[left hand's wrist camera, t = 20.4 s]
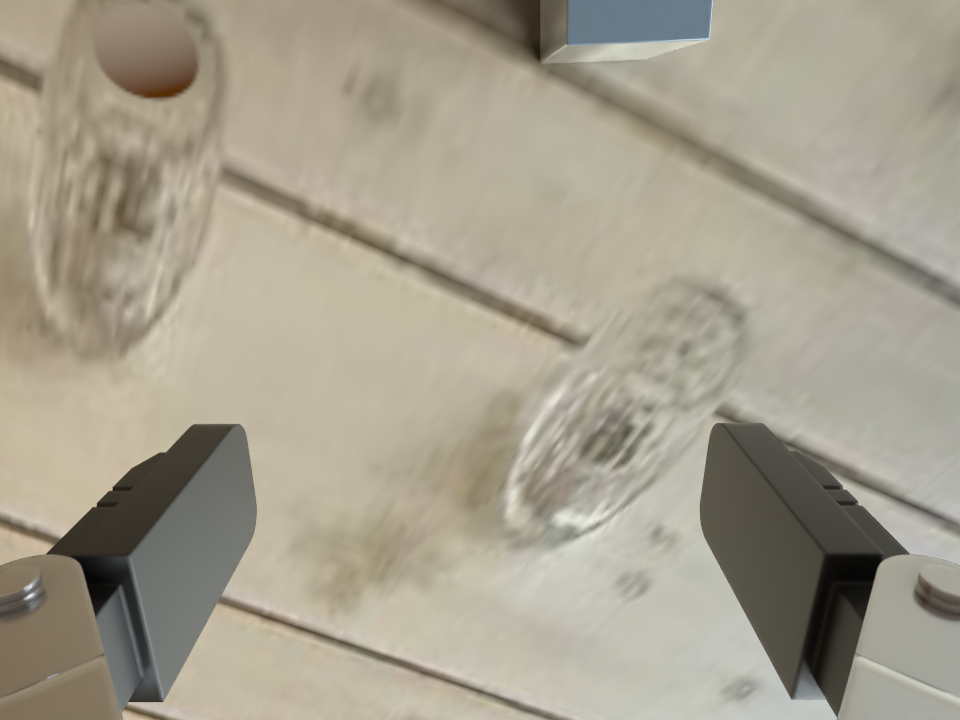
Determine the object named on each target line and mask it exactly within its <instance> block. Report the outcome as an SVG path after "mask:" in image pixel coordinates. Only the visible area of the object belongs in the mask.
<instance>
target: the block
mask: <svg viewBox="0 0 960 720" xmlns="http://www.w3.org/2000/svg"><path fill="white" fill-rule="evenodd" d="M712 7H713V0H540V63H541V64H548V63H574V62H601V61H627V60H645V59H648V58H651V57H654V56H658V55H661V54H664V53H668V52H671V51H674V50H678V49H681V48H684V47H687V46H691V45H694V44H697V43H701V42H704V41H707V40H709V39H710V30H711V19H712Z"/></svg>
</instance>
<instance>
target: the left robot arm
mask: <svg viewBox="0 0 960 720" xmlns="http://www.w3.org/2000/svg"><path fill="white" fill-rule="evenodd" d="M256 516H257V505H256V497H255V491H254V484H253V477H252V470H251V463H250V456H249V449H248V442H247V437H246V433H245V430H244V428H243V427H242V426H241V425H240V424H194V425H192V426H191V427H190V428H189V429H188V430H187V431H186V432H185V433H184V434H183V435H182V436H181V437H180V438H179V439H178V440H177V441H176V442H175V444H174V445H173V446H172V447H171V448H170V449H169V450H168V451H167V452H166V453H158V454H157V455H155V456H153V457H151V458H149V459H148V460H146V461H144V462H142V463H141V464H139V465H137V466H135V467H133V468H132V469H131V470H130V471H129V472H128V473H127V474H126V475H125V476H124V477H123V478H122V479H121V480H120V481H119V482H118V483H117V484H116V485H115V486H114V487H113V491H109V492H108V493H107V494H106V495H105V496H104V497H103V498H102V499H101V500H100V501H99V502H98V503H97V507H93V508H92V509H91V510H90V511H89V512H88V513H87V514H86V515H85V516H84V517H83V518H82V519H81V520H80V521H79V522H78V523H77V524H76V525H75V526H74V527H73V528H72V529H71V530H70V531H69V532H68V533H67V534H66V535H65V536H64V537H63V538H62V539H61V540H60V541H59V542H58V543H57V544H56V545H55V546H54V547H53V548H52V549H51V550H50V551H49V552H48V553H47V554H46V555H38V556H32V557H27V558H22V559H19V560H15V561H12V562H9V563H6V564H3V565H1V566H0V720H123V717H122V714H121V713H122V711H123V710H124V708H125V706H126V705H127V703H128V702H164V700H165V698H166V696H167V694H168V692H169V690H170V689H171V687H172V685H173V683H174V681H175V679H176V678H177V676H178V674H179V672H180V670H181V668H182V667H183V665H184V663H185V661H186V659H187V657H188V656H189V654H190V652H191V650H192V648H193V646H194V645H195V643H196V641H197V639H198V637H199V635H200V633H201V632H202V630H203V628H204V626H205V624H206V622H207V621H208V619H209V617H210V615H211V613H212V611H213V610H214V608H215V606H216V604H217V602H218V600H219V599H220V597H221V595H222V593H223V591H224V589H225V588H226V586H227V584H228V582H229V580H230V578H231V577H232V575H233V573H234V571H235V569H236V567H237V565H238V564H239V562H240V560H241V558H242V556H243V554H244V553H245V551H246V549H247V547H248V545H249V543H250V541H251V539H252V537H253V534H254V530H255V525H256ZM700 519H701V526H702V530H703V534H704V537H705V539H706V541H707V543H708V545H709V547H710V549H711V550H712V552H713V554H714V556H715V558H716V560H717V562H718V564H719V565H720V567H721V569H722V571H723V573H724V575H725V577H726V578H727V580H728V582H729V584H730V586H731V588H732V590H733V591H734V593H735V595H736V597H737V599H738V601H739V603H740V604H741V606H742V608H743V610H744V612H745V614H746V616H747V617H748V619H749V621H750V623H751V625H752V627H753V629H754V631H755V632H756V634H757V636H758V638H759V640H760V642H761V644H762V645H763V647H764V649H765V651H766V653H767V655H768V657H769V658H770V660H771V662H772V664H773V666H774V668H775V670H776V671H777V673H778V675H779V677H780V679H781V681H782V683H783V684H784V686H785V688H786V690H787V692H788V694H789V696H790V697H791V699H792V700H827V701H828V703H829V705H830V706H831V708H832V710H833V711H834V713H835V715H836V716H837V720H960V566H959V565H957V564H954V563H951V562H948V561H945V560H941V559H938V558H933V557H928V556H922V555H910V554H909V553H908V552H907V551H906V550H905V549H904V547H903V546H902V545H901V544H900V543H899V542H898V541H897V540H896V539H895V538H894V537H893V536H892V535H891V534H890V533H889V532H888V531H887V530H886V529H885V528H884V527H883V526H882V525H881V524H880V523H879V522H878V521H877V520H876V519H875V518H874V517H873V516H872V515H871V514H870V513H869V512H868V511H867V510H866V509H865V508H864V507H863V506H859V505H858V501H857V500H856V499H855V498H854V497H853V496H852V495H851V494H850V493H849V492H848V491H847V490H843V486H842V485H841V484H840V483H839V482H838V481H837V480H836V479H835V478H834V477H833V476H832V475H831V474H830V473H829V472H828V471H827V470H826V469H825V468H824V467H823V466H821V465H819V464H817V463H816V462H814V461H812V460H810V459H808V458H807V457H805V456H803V455H801V454H800V453H798V452H796V451H789V450H788V449H787V448H786V447H785V446H784V445H783V444H782V443H781V442H780V441H779V439H778V438H777V437H776V436H775V435H774V434H773V433H772V432H771V431H770V430H769V429H768V428H767V427H766V426H765V425H764V424H762V423H717V424H715V425H714V426H713V428H712V430H711V433H710V438H709V445H708V452H707V459H706V466H705V473H704V480H703V487H702V494H701V501H700Z"/></svg>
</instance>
